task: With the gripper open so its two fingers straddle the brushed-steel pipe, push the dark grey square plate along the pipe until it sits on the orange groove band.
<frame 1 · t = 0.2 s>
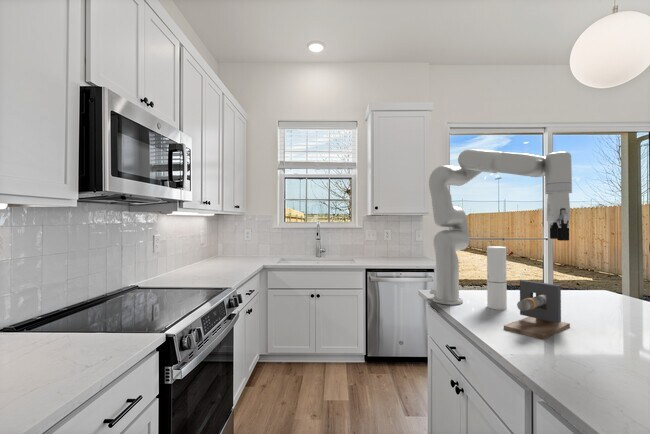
hand: (559, 239, 117), 30 cm above the worktop, fingers open, 9 cm apart
pipe mount: (537, 328, 117), on the worktop
cylindrical container: (496, 307, 143), on the worktop
dark grey square plate: (539, 300, 118), point 9 cm above the worktop, slide at 8.0 cm
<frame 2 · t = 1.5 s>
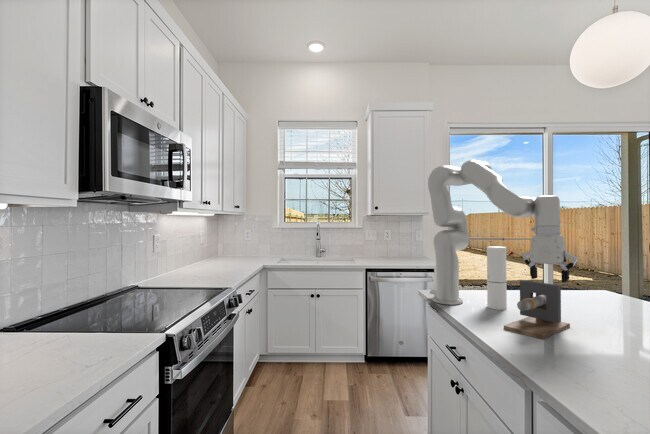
hand: (549, 280, 121), 15 cm above the worktop, fingers open, 9 cm apart
nothing on the worktop moved.
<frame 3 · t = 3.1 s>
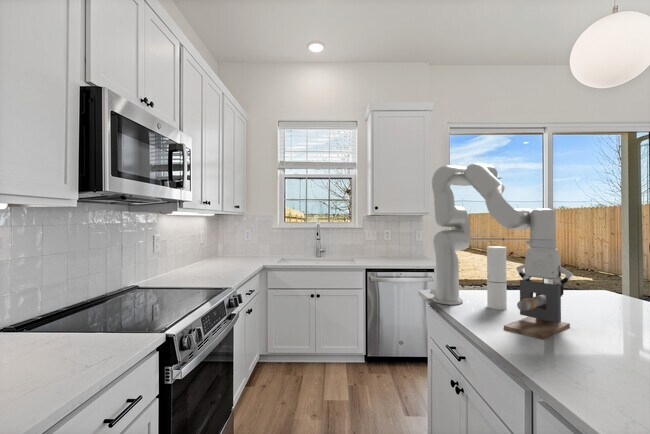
hand: (543, 294, 119), 11 cm above the worktop, fingers open, 9 cm apart
dark grey square plate: (539, 300, 118), point 9 cm above the worktop, slide at 8.0 cm, touching gripper
everything else where it was.
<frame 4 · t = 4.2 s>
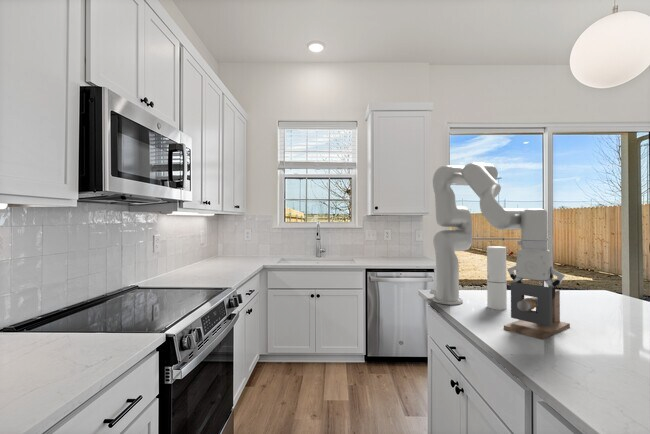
hand: (534, 296, 116), 11 cm above the worktop, fingers open, 9 cm apart
dark grey square plate: (530, 303, 114), point 9 cm above the worktop, slide at 1.7 cm, touching gripper
everything else where it was.
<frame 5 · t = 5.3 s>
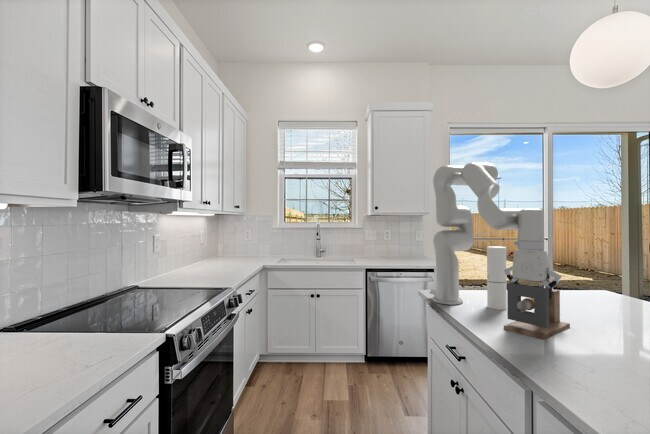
hand: (531, 297, 114), 11 cm above the worktop
dark grey square plate: (527, 304, 113), point 9 cm above the worktop, slide at -0.6 cm, touching gripper
everything else where it was.
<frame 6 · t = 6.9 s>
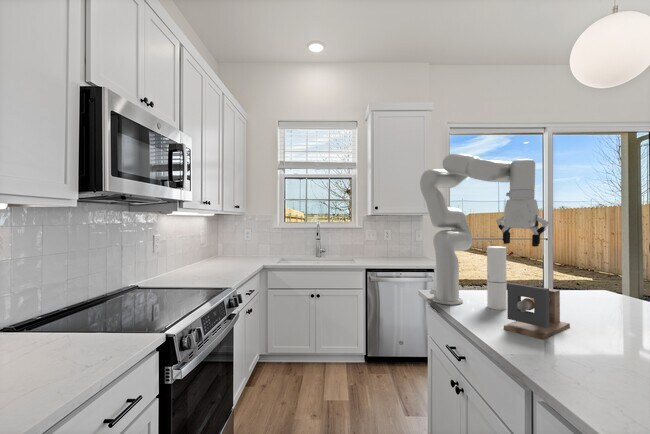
hand: (520, 244, 120), 28 cm above the worktop, fingers open, 9 cm apart
dark grey square plate: (527, 304, 113), point 9 cm above the worktop, slide at -0.6 cm
everything else where it was.
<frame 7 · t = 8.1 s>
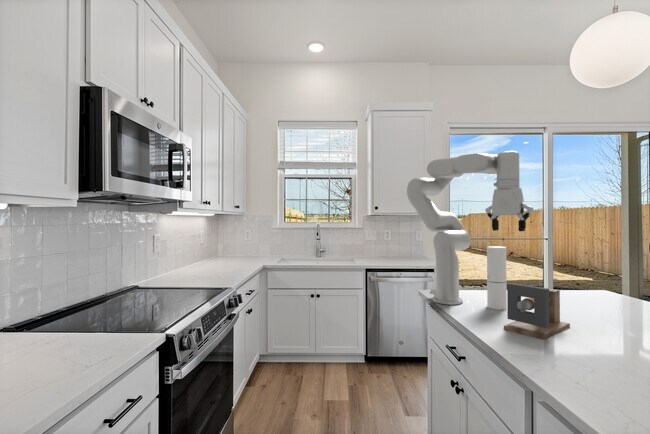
hand: (508, 230, 129), 32 cm above the worktop, fingers open, 9 cm apart
nothing on the worktop moved.
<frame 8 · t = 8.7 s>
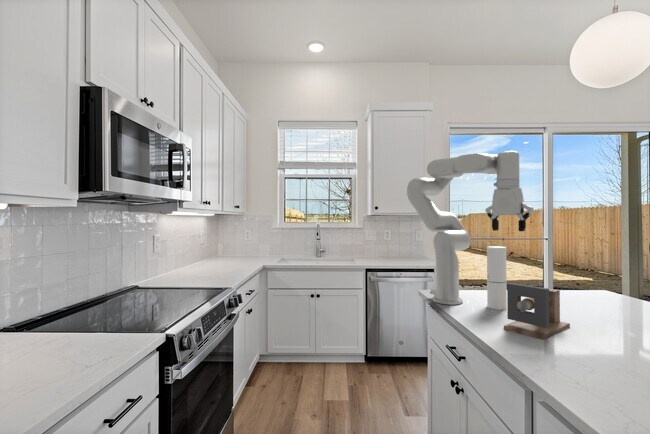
hand: (508, 230, 129), 32 cm above the worktop, fingers open, 9 cm apart
nothing on the worktop moved.
at the end: dark grey square plate slide at -0.6 cm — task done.
